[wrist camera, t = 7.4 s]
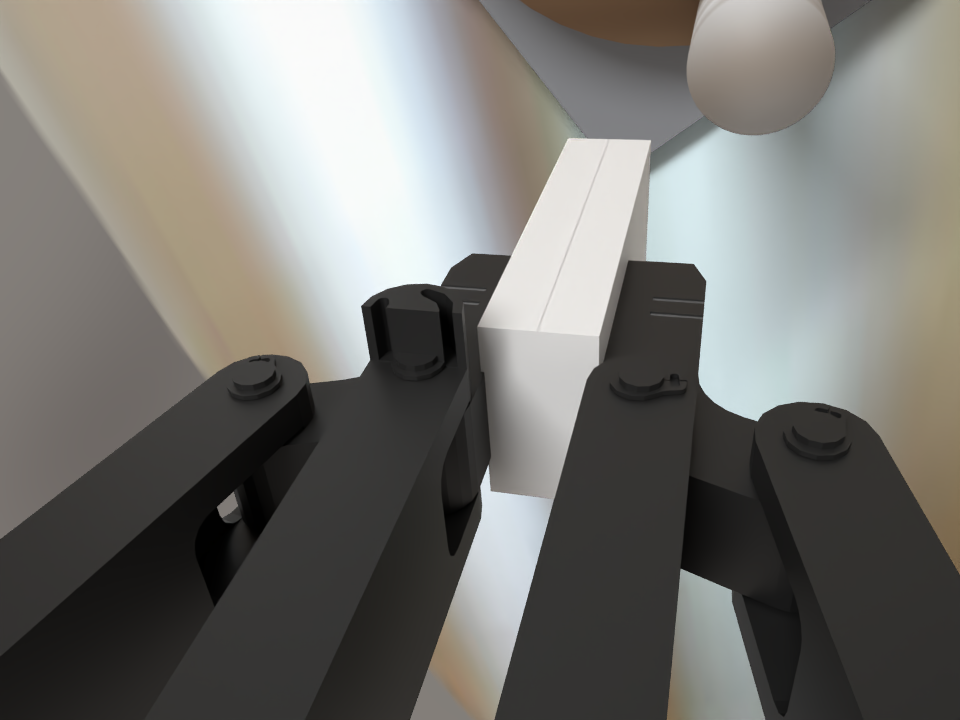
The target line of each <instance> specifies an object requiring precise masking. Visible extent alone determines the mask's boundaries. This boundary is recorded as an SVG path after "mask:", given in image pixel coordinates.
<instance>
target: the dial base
mask: <svg viewBox="0 0 960 720" xmlns="http://www.w3.org/2000/svg"><path fill="white" fill-rule="evenodd" d="M479 1H480V2H481V4H482V5H483V6H484V7H485V9H486V10H487V11H488V12H489V14H490V15H491V16H492V18H493V19H494V20H495V21H496V23H497V24H498V25H499V26H500V28H501V29H502V30H503V32H504V33H505V34H506V35H507V37H508V38H509V39H510V41H511V42H512V43H513V44H514V46H515V47H516V48H517V49H518V51H519V52H520V53H521V55H522V56H523V57H524V58H525V60H526V61H527V62H528V63H529V65H530V66H531V67H532V69H533V70H534V71H535V72H536V74H537V75H538V76H539V78H540V79H541V80H542V81H543V83H544V84H545V85H546V86H547V88H548V89H549V90H550V92H551V93H552V94H553V95H554V97H555V98H556V99H557V100H558V102H559V103H560V104H561V106H562V107H563V108H564V109H565V111H566V112H567V113H568V114H569V116H570V117H571V118H572V120H573V121H574V122H575V123H576V125H577V126H578V127H579V129H580V130H581V131H582V132H583V134H584V135H585V136H586V137H587V139H624V140H651V153H652V152H653V151H654V150H656V149H657V148H659V147H660V146H662V145H663V144H665V143H666V142H667V141H669V140H670V139H672V138H673V137H675V136H676V135H678V134H679V133H680V132H682V131H683V130H685V129H686V128H688V127H689V126H691V125H692V124H693V123H695V122H696V121H698V120H699V119H701V118H702V117H704V115H703V114H702V112H701V111H700V110H699V109H698V107H697V106H696V104H695V102H694V100H693V98H692V96H691V93H690V91H689V87H688V83H687V60H688V54H689V49H690V45H688V46H665V47H655V46H643V45H632V44H623V43H619V42H614V41H610V40H605V39H601V38H597V37H592V36H589V35H587V34H584V33H582V32H579V31H576V30H574V29H571V28H568V27H566V26H563V25H560V24H559V23H557V22H555V21H553V20H551V19H549V18H547V17H546V16H544V15H542V14H540V13H538V12H536V11H534V10H533V9H531V8H530V7H528V6H527V5H525V4H524V3H523V2H521V1H520V0H479ZM821 1H822V5H823V8H824V11H825V14H826V17H827V20H828V24H829V27H830V29H831V28H832V27H833V26H835V25H836V24H838V23H839V22H841V21H842V20H844V19H845V18H846V17H848V16H849V15H851V14H852V13H854V12H855V11H857V10H858V9H859V8H861V7H862V6H864V5H865V4H867V3H868V2H870V1H871V0H821Z"/></svg>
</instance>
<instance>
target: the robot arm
mask: <svg viewBox="0 0 960 720" xmlns="http://www.w3.org/2000/svg"><path fill="white" fill-rule="evenodd" d="M650 155H651V140H624V139H580V138H568V140H567V142H566V144H565V146H564V148H563V150H562V152H561V155H560V157H559V159H558V161H557V163H556V165H555V167H554V169H553V171H552V173H551V175H550V177H549V179H548V181H547V183H546V186H545V188H544V190H543V192H542V194H541V196H540V198H539V200H538V202H537V204H536V206H535V208H534V210H533V212H532V215H531V217H530V219H529V221H528V223H527V225H526V227H525V229H524V231H523V233H522V235H521V237H520V239H519V241H518V243H517V246H516V248H515V250H514V252H513V254H512V256H506V255H489V254H471V255H469V256H468V257H466V258H465V259H463V260H462V261H460V262H459V263H458V264H456V265H455V266H453V267H452V268H451V269H450V271H449V272H448V274H447V276H446V277H445V279H444V281H443V283H442V284H441V286H436V285H430V284H407V285H403V286H398V287H394V288H389V289H387V290H384V291H382V292H380V293H378V294H376V295H374V296H372V297H371V298H370V299H368V300H367V301H366V302H365V303H364V304H363V305H362V306H361V308H362V313H363V319H364V325H365V331H366V337H367V343H368V349H369V355H370V362H369V363H368V365H367V366H366V368H365V369H364V371H363V373H362V374H361V376H360V377H357V378H351V379H346V380H338V381H329V382H320V383H309V378H308V374H307V371H306V369H305V368H304V366H303V365H302V363H301V362H299V361H297V360H294V359H292V358H290V357H288V356H279V355H262V356H260V355H258V356H252V357H249V358H247V359H243V360H240V361H237V362H234V363H232V364H230V365H229V366H227V367H225V368H224V369H222V370H220V371H218V372H217V373H216V374H214V375H213V376H212V377H210V378H209V379H208V380H207V381H205V382H204V383H203V384H201V385H200V386H199V387H197V388H196V389H195V390H194V391H192V392H191V393H190V394H188V395H187V396H186V397H184V398H183V399H182V400H181V401H180V402H178V403H177V404H176V405H174V406H173V407H171V408H170V409H169V410H168V411H166V412H165V413H164V414H162V415H161V416H160V417H158V418H157V419H156V420H155V421H153V422H152V423H151V424H149V425H148V426H147V427H145V428H144V429H143V430H142V431H140V432H139V433H138V434H136V435H135V436H134V437H133V438H131V439H130V440H129V441H127V442H126V443H125V444H123V445H122V446H121V447H120V448H118V449H117V450H116V451H114V452H113V453H112V454H110V455H109V456H108V457H107V458H105V459H104V460H103V461H101V462H100V463H99V464H97V465H96V466H95V467H94V468H92V469H91V470H90V471H88V472H87V473H86V474H84V475H83V476H82V477H81V478H79V479H78V480H77V481H76V482H74V483H73V484H71V485H70V486H69V487H68V488H66V489H65V490H64V491H62V492H61V493H60V494H58V495H57V496H56V497H55V498H53V499H52V500H51V501H50V502H48V503H47V504H45V505H44V506H43V507H42V508H40V509H39V510H38V511H36V512H35V513H34V514H33V515H31V516H30V517H29V518H27V519H26V520H25V521H23V522H22V523H21V524H20V525H18V526H17V527H16V528H14V529H13V530H12V531H10V532H9V533H8V534H7V535H5V536H4V537H3V538H1V539H0V720H410V718H411V715H412V712H413V709H414V706H415V704H416V701H417V698H418V695H419V693H420V689H421V687H422V684H423V681H424V678H425V676H426V673H427V670H428V667H429V664H430V661H431V658H432V656H433V653H434V650H435V647H436V644H437V641H438V639H439V636H440V633H441V630H442V627H443V624H444V622H445V619H446V616H447V613H448V610H449V607H450V605H451V602H452V599H453V596H454V593H455V590H456V588H457V585H458V582H459V579H460V576H461V573H462V571H463V568H464V565H465V562H466V559H467V556H468V554H469V551H470V548H471V545H472V542H473V539H474V537H475V534H476V531H477V528H478V525H479V522H480V520H481V512H482V500H481V489H480V485H481V483H482V480H483V477H484V475H485V472H486V469H487V467H488V464H489V474H490V486H491V491H494V492H502V493H510V494H518V495H525V496H533V497H541V498H549V499H554V502H553V506H552V509H551V513H550V517H549V520H548V524H547V528H546V532H545V535H544V539H543V543H542V546H541V550H540V554H539V557H538V561H537V565H536V568H535V572H534V576H533V579H532V583H531V587H530V591H529V594H528V598H527V602H526V605H525V609H524V613H523V616H522V620H521V624H520V627H519V631H518V635H517V638H516V642H515V646H514V650H513V653H512V657H511V661H510V664H509V668H508V672H507V675H506V679H505V683H504V686H503V690H502V694H501V697H500V701H499V705H498V709H497V712H496V716H495V720H667V709H668V698H669V687H670V677H671V666H672V655H673V644H674V633H675V622H676V612H677V601H678V590H679V579H680V568H681V569H683V570H685V571H688V572H690V573H693V574H695V575H697V576H700V577H702V578H704V579H707V580H709V581H712V582H714V583H716V584H719V585H721V586H723V587H726V588H728V589H731V590H732V603H733V606H734V610H735V613H736V617H737V620H738V624H739V627H740V631H741V635H742V638H743V642H744V645H745V649H746V652H747V656H748V659H749V663H750V666H751V670H752V673H753V677H754V680H755V684H756V687H757V691H758V695H759V698H760V702H761V705H762V709H763V712H764V716H765V719H766V720H960V575H959V573H958V571H957V569H956V568H955V566H954V564H953V562H952V561H951V559H950V557H949V556H948V554H947V552H946V550H945V549H944V547H943V545H942V543H941V542H940V540H939V538H938V537H937V535H936V533H935V531H934V530H933V528H932V526H931V524H930V523H929V521H928V519H927V518H926V516H925V514H924V512H923V511H922V509H921V507H920V505H919V504H918V502H917V500H916V499H915V497H914V495H913V493H912V492H911V490H910V488H909V486H908V485H907V483H906V481H905V480H904V478H903V476H902V474H901V473H900V471H899V469H898V467H897V466H896V464H895V462H894V461H893V459H892V457H891V455H890V454H889V452H888V450H887V448H886V447H885V445H884V443H883V442H882V440H881V438H880V436H879V435H878V434H877V433H876V432H875V431H874V430H873V429H872V427H871V426H870V425H869V424H868V423H867V422H866V421H864V420H862V419H861V418H859V417H857V416H856V415H854V414H852V413H850V412H849V411H847V410H844V409H840V408H837V407H833V406H830V405H827V404H822V403H808V402H796V403H790V404H784V405H778V406H777V407H775V408H773V409H771V410H769V411H767V412H765V413H764V414H762V416H761V417H760V419H759V420H758V422H757V421H754V420H751V419H748V418H744V417H742V416H739V415H737V414H734V413H732V412H729V411H727V410H725V409H724V408H722V407H720V406H719V405H717V404H715V403H714V402H713V401H712V400H711V399H710V398H709V397H708V396H707V395H706V394H705V393H704V391H703V390H702V388H701V386H700V384H699V378H698V370H699V358H700V347H701V335H702V324H703V313H704V301H705V290H706V280H705V279H704V278H703V276H702V275H701V273H700V272H699V271H698V269H697V268H696V267H695V265H694V264H684V263H667V262H650V261H646V244H647V221H648V199H649V177H650ZM233 491H234V494H235V497H236V500H237V504H238V507H237V508H236V509H235V510H234V511H233V512H232V513H230V514H228V515H227V516H225V517H224V518H221V517H220V515H219V512H218V509H217V506H218V505H219V504H220V503H222V502H223V500H225V499H226V498H227V497H228V496H229V495H230V494H231V493H232V492H233Z"/></svg>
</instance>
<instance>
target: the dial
mask: <svg viewBox="0 0 960 720" xmlns="http://www.w3.org/2000/svg"><path fill="white" fill-rule="evenodd" d="M520 1H521V2H523V3H524V4H525V5H527V6H528V7H530V8H531V9H533V10H534V11H536V12H538V13H540V14H542V15H544V16H546V17H547V18H549V19H551V20H553V21H555V22H557V23H559V24H560V25H563V26H566V27H568V28H571V29H574V30H576V31H579V32H582V33H584V34H587V35H589V36H592V37H597V38H601V39H605V40H610V41H614V42H619V43H623V44H632V45H643V46H655V47H665V46H688V45H690V49H689V54H688V60H687V83H688V87H689V91H690V93H691V96H692V98H693V100H694V102H695V104H696V106H697V107H698V109H699V110H700V111H701V112H702V114H703V115H704V116H705V117H706V118H707V119H708V120H710V121H711V122H712V123H714V124H715V125H717V126H719V127H721V128H722V129H725V130H727V131H730V132H733V133H737V134H743V135H763V134H769V133H773V132H777V131H780V130H782V129H785V128H787V127H789V126H791V125H793V124H795V123H796V122H798V121H799V120H801V119H802V118H803V117H805V116H806V115H807V114H808V113H809V112H810V111H811V110H812V109H813V108H814V107H815V106H816V105H817V104H818V102H819V101H820V100H821V98H822V97H823V95H824V93H825V92H826V90H827V88H828V86H829V83H830V81H831V78H832V75H833V71H834V65H835V46H834V40H833V36H832V33H831V30H830V27H829V24H828V20H827V17H826V14H825V11H824V8H823V5H822V1H821V0H520Z"/></svg>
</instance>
